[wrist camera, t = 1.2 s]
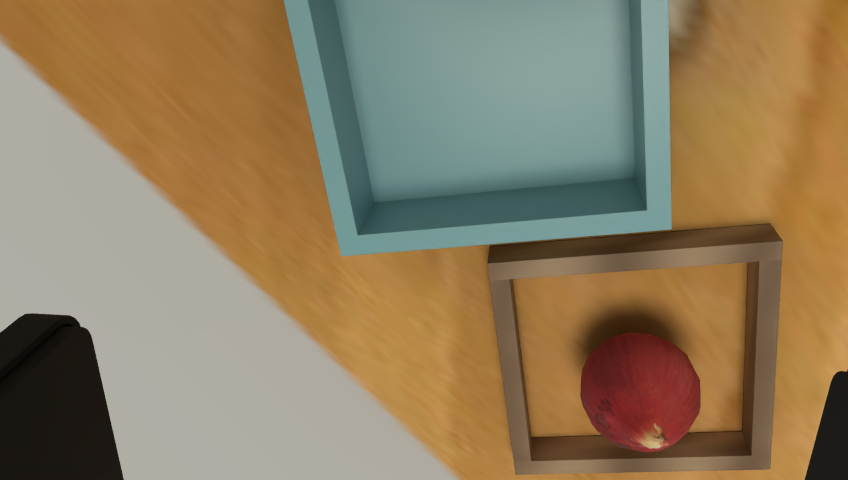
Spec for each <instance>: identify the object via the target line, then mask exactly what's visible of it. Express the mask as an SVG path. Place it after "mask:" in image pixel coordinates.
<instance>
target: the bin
mask: <svg viewBox="0 0 848 480" xmlns="http://www.w3.org/2000/svg"><path fill="white" fill-rule="evenodd" d="M284 4H285V8H286V13H287V17H288V22H289V26H290V31H291V35H292V40H293V44H294V48H295V53H296V57H297V62H298V66H299V71H300V75H301V80H302V84H303V88H304V93H305V97H306V102H307V106H308V111H309V115H310V120H311V124H312V128H313V133H314V137H315V142H316V146H317V151H318V155H319V160H320V164H321V168H322V173H323V177H324V182H325V186H326V191H327V195H328V200H329V204H330V209H331V213H332V217H333V222H334V226H335V231H336V235H337V240H338V244H339V249H340V253H341V256H350V255H363V254H375V253H387V252H399V251H412V250H424V249H436V248H449V247H461V246H473V245H486V244H498V243H510V242H523V241H535V240H547V239H560V238H572V237H584V236H597V235H609V234H621V233H634V232H646V231H658V230H671V229H672V228H671V159H670V91H669V22H668V0H284Z"/></svg>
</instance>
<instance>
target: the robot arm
mask: <svg viewBox="0 0 848 480" xmlns="http://www.w3.org/2000/svg"><path fill="white" fill-rule="evenodd" d="M0 480H124V479H123V475H122V470H121V466H120V461H119V457H118V453H117V448H116V444H115V439H114V434H113V431H112V426H111V421H110V417H109V412H108V408H107V404H106V399H105V394H104V390H103V385H102V381H101V377H100V372H99V367H98V363H97V359H96V354H95V350H94V345H93V341H92V337H91V334H90V333H89V331H88V330H87V329H86V328H83V327H80V324H79V322H78V321H77V320H76V319H75V318H74V317H72V316H68V315H50V314H25V315H23V316H21V317H19V318H18V319H17V320H16V321H14V322H13V323H12V324H11V325H9V326H8V327H7V328H6V329H5V330H3V331H2V332H1V333H0ZM805 480H848V371H847V372H843V371H840V372H837V373H836V374H835V375H834V377H833V379H832V381H831V384H830V388H829V392H828V395H827V399H826V403H825V407H824V410H823V414H822V418H821V421H820V425H819V429H818V433H817V436H816V440H815V444H814V448H813V451H812V455H811V459H810V462H809V466H808V470H807V474H806V477H805Z"/></svg>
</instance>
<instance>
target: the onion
mask: <svg viewBox="0 0 848 480" xmlns="http://www.w3.org/2000/svg"><path fill="white" fill-rule="evenodd" d="M580 397H581V400H582V404H583V407H584V409H585V411H586V413H587V415H588V417H589V419H590V421H591V423H592V425H593V426H594V427H595V429H596V430H597V431H598V432H599V433H601V434H602V435H603V436H604V437H606V438H607V439H608V440H610V441H611V442H612V443H614V444H615V445H617V446H618V447H620V448H624V449H630V450H636V451H640V452H654V451H660V450H663V449H665V448H667V447H670V446H672V445H674V444H675V443H676V442H677V441H678V440H680V439H681V438H682V437H683V436H684V435H685V434H687V432H688V431H689V429H690V427H691V426H692V424H693V422H694V420H695V419H696V417H697V416H698V414H699V410H700V379H699V377H698V376H697V374H696V372H695V370H694V368H693V366H692V364H691V362H690V360H689V358H688V356H687V355H686V354H685V353H684V352H683V351H682V350H680V349H679V348H678V347H677V346H675V345H674V344H673V343H672V342H670V341H667V340H665V339H662V338H660V337H657V336H654V335H651V334H648V333H633V332H627V333H624V334H620V335H617V336H613V337H610V338H609V339H608V340H606V341H605V342H603V343H602V344H601V345H599V346H598V347H597V348H596V349H595V350H594V351H593V352H592V353H591V355H590V357H589V358H588V360H587V362H586V364H585V365H584V367H583V371H582V377H581V396H580Z"/></svg>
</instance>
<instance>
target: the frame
mask: <svg viewBox="0 0 848 480" xmlns="http://www.w3.org/2000/svg"><path fill="white" fill-rule="evenodd" d="M782 248H783V241H782V239H781V238H780V236H779V235H778V234H777V232H776V231H775V229H774V228H773V227H772V225H771V224H761V225H748V226H736V227H723V228H711V229H699V230H686V231H674V232H661V233H649V234H637V235H624V236H612V237H599V238H587V239H574V240H562V241H550V242H537V243H525V244H512V245H500V246H490V248H489V256H488V271H489V278H490V286H491V293H492V301H493V308H494V316H495V323H496V331H497V338H498V346H499V354H500V361H501V369H502V376H503V384H504V391H505V399H506V406H507V414H508V422H509V429H510V437H511V444H512V452H513V459H514V467H515V474H516V475H527V474H574V473H622V472H669V471H716V470H763V469H770V464H771V446H772V428H773V410H774V392H775V374H776V356H777V338H778V320H779V302H780V284H781V266H782ZM745 262H748V271H747V301H746V331H745V360H744V390H743V419H742V431H740V432H707V433H687V434H685V435H684V436H683V437H682V438H681V439H680V440H678V441H677V442H676V443H675V444H674V445H672V446H670V447H667V448H665V449H663V450H660V451H654V452H640V451H636V450H630V449H624V448H620V447H618V446H617V445H615V444H614V443H612V442H611V441H610V440H608V439H607V438H606V437H604V436H576V437H543V438H531V432H530V424H529V415H528V407H527V398H526V390H525V381H524V373H523V364H522V356H521V347H520V339H519V330H518V322H517V313H516V305H515V296H514V288H513V279H522V278H536V277H550V276H564V275H578V274H592V273H606V272H620V271H634V270H648V269H662V268H676V267H689V266H703V265H717V264H731V263H745Z"/></svg>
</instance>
